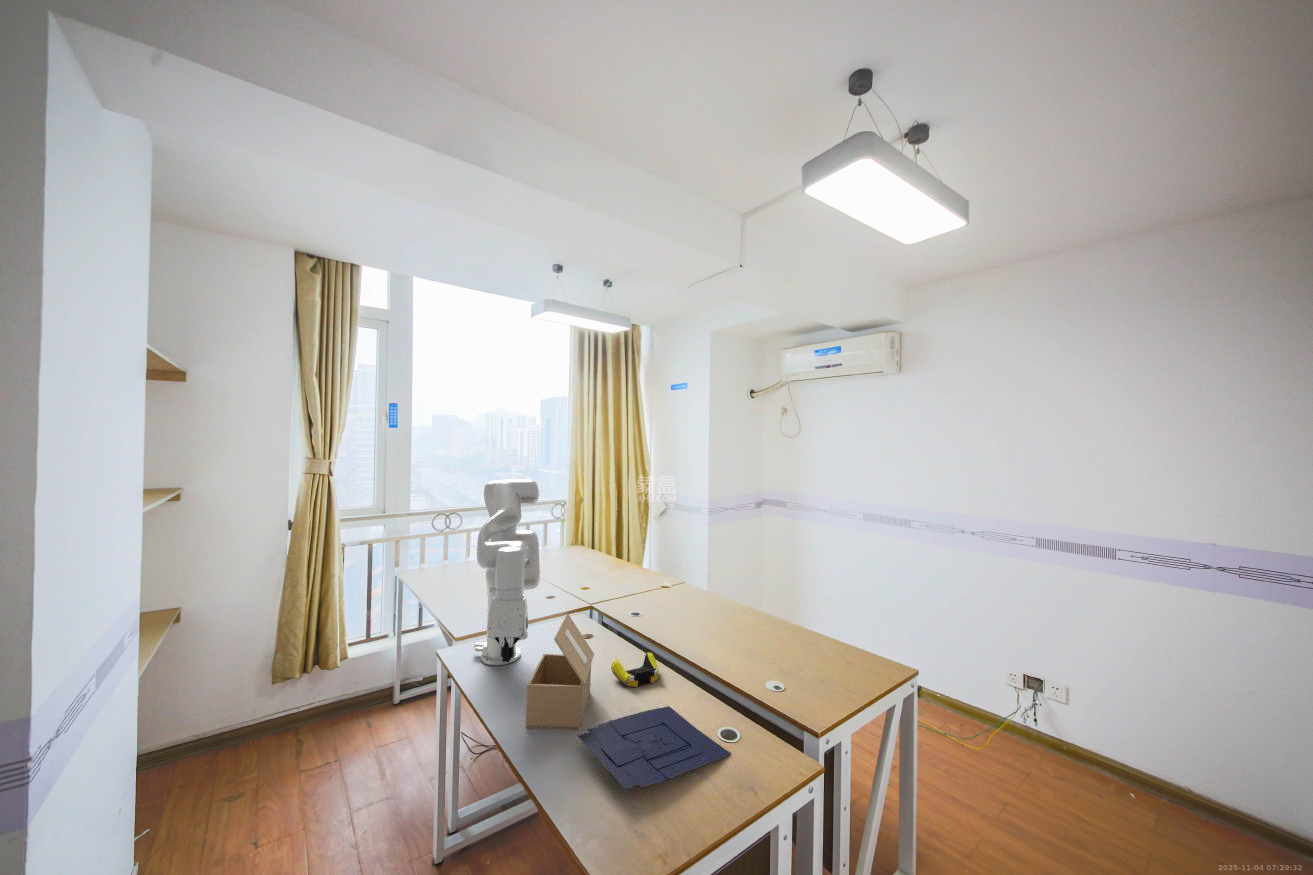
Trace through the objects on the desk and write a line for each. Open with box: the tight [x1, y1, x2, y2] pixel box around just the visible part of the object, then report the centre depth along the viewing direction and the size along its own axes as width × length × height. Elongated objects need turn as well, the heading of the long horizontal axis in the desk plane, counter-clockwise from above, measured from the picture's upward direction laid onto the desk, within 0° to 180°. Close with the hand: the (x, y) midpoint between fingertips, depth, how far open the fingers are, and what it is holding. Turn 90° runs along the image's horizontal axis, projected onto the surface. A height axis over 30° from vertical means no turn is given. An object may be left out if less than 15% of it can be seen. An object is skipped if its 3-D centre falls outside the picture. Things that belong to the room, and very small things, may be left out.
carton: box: [525, 653, 592, 731], centre depth 127 cm, size 14×17×11 cm
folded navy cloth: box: [576, 705, 732, 790], centre depth 111 cm, size 24×30×4 cm
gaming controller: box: [610, 652, 659, 688], centre depth 145 cm, size 15×6×10 cm
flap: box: [553, 613, 595, 685], centre depth 127 cm, size 14×17×1 cm
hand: (507, 659), depth 127 cm, fingers closed
